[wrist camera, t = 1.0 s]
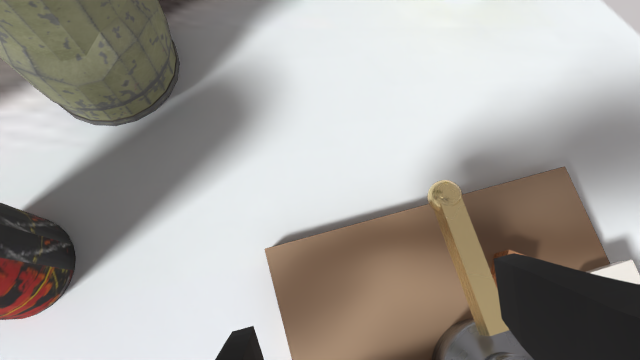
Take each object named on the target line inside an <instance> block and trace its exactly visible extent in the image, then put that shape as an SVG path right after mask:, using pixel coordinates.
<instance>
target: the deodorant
mask: <svg viewBox="0 0 640 360" xmlns="http://www.w3.org/2000/svg"><path fill="white" fill-rule="evenodd" d="M74 267H75V252H74V247H73V244H72V242H71V240H70V238H69V236H68V234H67V233H66V232H65V231H64V230H63V229H62V228H61V227H60V226H58V225H56V224H54V223H53V222H51V221H49V220H46V219H43V218H41V217H38V216H35V215H32V214H30V213H27V212H24V211H22V210H19V209H16V208H13V207H11V206H8V205H5V204H2V203H0V320H6V319H23V318H27V317H30V316H33V315H36V314H38V313H40V312H42V311H43V310H45V309H47V308H48V307H50V306H51V305H52V304H53V303H54V302H55V301H56V300H58V299H59V298H60V297H61V296H62V294H63V293H64V291H65V290H66V288H67V287H68V285H69V283H70V281H71V278H72V275H73V272H74Z"/></svg>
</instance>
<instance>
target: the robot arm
mask: <svg viewBox="0 0 640 360" xmlns="http://www.w3.org/2000/svg"><path fill="white" fill-rule="evenodd" d="M494 266H495V274H496V281H497V288H498V295H499V303H500V310H501V317H502V320H503V321H504V323H505V324H506V326H507V327H508V328H509V330H510V331H511V333H512V334H513V335H514V337H515V338H516V339H517V341H518V342H519V343H520V345H521V346H522V347H523V348H524V349H525V351H526V352H527V353H528V354H529V355H530V356H531V357H532V358H533V359H534V360H640V284H635V283H630V282H625V281H621V280H617V279H612V278H608V277H603V276H599V275H595V274H591V273H587V272H584V271H580V270H576V269H572V268H569V267H565V266H562V265H558V264H554V263H551V262H547V261H544V260H540V259H536V258H533V257H529V256H525V255H520V254H515V253H512V254H508V255H505V256H501V257H498V258H494ZM215 360H264V359H263V355H262V352H261V349H260V346H259V343H258V339H257V336H256V333H255V330H254V327H253V326H251V327H248V328H244V329H241V330H237V331H233V332H232V333H231V335H230V336H229V338H228V339H227V341H226V343H225V344H224V346H223V348H222V349H221V351H220V353H219V354H218V356H217V358H216V359H215Z"/></svg>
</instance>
